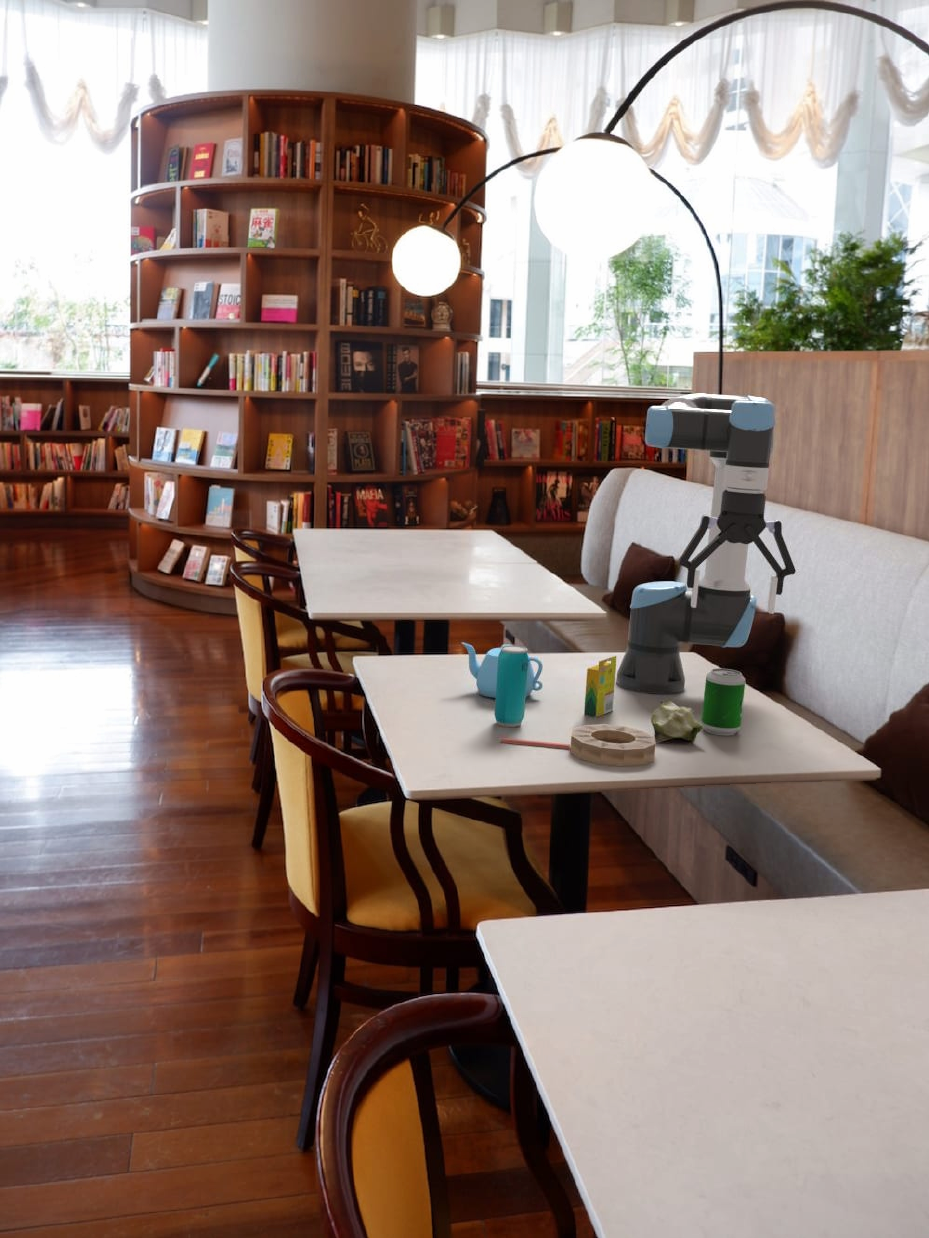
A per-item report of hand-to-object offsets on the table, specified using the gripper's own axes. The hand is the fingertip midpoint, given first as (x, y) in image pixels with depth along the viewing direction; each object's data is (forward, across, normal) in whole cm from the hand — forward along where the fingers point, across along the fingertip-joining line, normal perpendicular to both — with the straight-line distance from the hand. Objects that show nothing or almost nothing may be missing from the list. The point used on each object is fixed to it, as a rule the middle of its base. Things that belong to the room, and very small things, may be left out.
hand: (731, 609), depth 213 cm
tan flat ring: (+27, -19, -4) cm, 34 cm away
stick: (+27, -33, -4) cm, 43 cm away
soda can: (+28, +2, +16) cm, 32 cm away
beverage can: (+28, -39, +8) cm, 48 cm away
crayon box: (+28, -22, +22) cm, 41 cm away
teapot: (+28, -42, +30) cm, 59 cm away
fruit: (+28, -7, +8) cm, 30 cm away
